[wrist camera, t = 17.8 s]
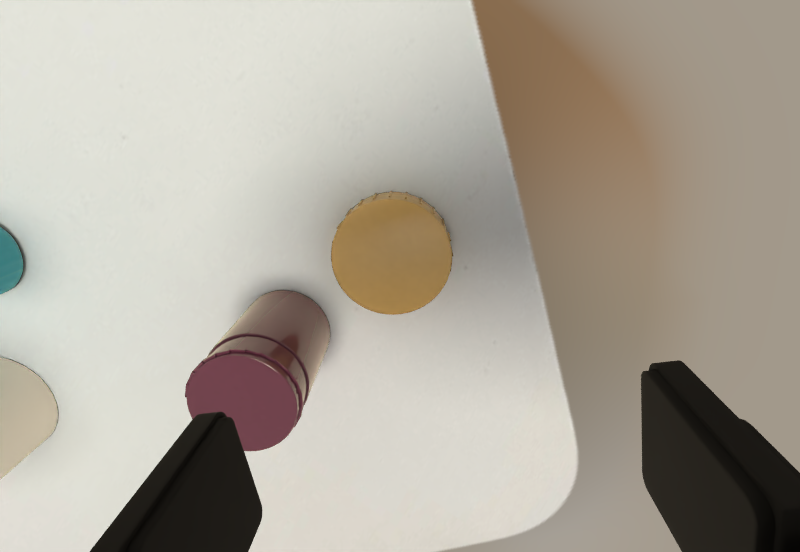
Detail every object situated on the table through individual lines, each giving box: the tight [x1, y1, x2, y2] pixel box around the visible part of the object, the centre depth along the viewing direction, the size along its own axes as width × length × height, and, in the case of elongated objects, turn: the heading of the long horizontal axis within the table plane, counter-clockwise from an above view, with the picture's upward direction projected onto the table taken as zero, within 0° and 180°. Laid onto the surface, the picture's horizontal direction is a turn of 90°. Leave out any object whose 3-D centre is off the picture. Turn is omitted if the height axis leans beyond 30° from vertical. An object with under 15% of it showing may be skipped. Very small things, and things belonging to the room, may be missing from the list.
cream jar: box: [185, 290, 330, 451], centre depth 26 cm, size 5×5×8 cm
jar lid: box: [331, 191, 453, 314], centre depth 27 cm, size 7×7×2 cm
